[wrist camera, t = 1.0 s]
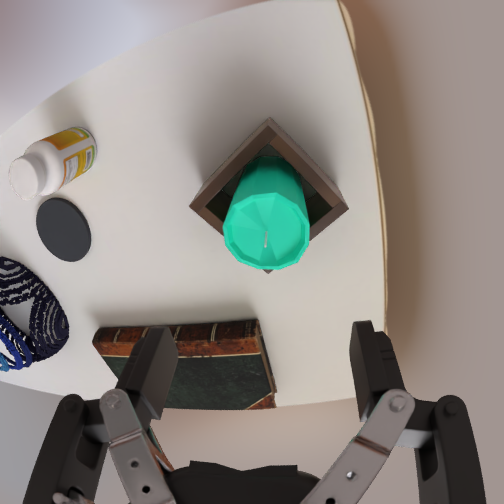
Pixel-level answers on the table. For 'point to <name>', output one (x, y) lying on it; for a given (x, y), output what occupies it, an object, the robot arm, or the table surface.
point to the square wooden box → (328, 194)
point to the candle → (267, 216)
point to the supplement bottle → (52, 163)
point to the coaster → (63, 229)
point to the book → (205, 364)
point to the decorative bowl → (27, 345)
